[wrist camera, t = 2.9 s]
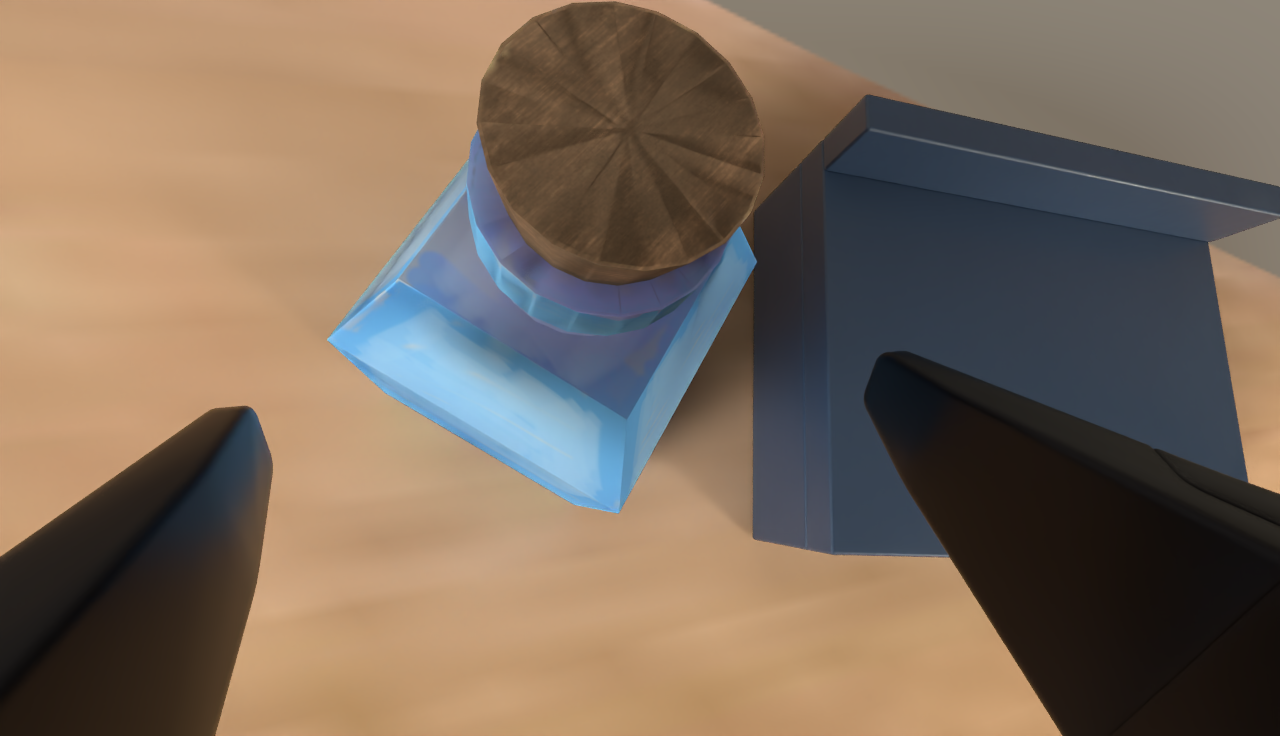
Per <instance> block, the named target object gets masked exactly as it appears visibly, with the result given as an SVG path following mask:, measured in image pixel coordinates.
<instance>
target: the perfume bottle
mask: <svg viewBox="0 0 1280 736" xmlns="http://www.w3.org/2000/svg"><path fill="white" fill-rule="evenodd" d="M477 127H478V130H477V132H476V134H475V136H474V138H473V139H472V141H471V147H470V156H469V159H468V160H467V162H466V163H465V164H464V165H463V167H462V168H461V169H460V171H459V172H458V173H457V174H456V176H455V177H454V178H453V180H452V181H451V182H450V183H449V185H448V186H447V187H446V188H445V190H444V191H443V192H442V194H441V195H440V196H439V197H438V199H437V200H436V201H435V202H434V204H433V205H432V206H431V208H430V209H429V210H428V211H427V213H426V214H425V215H424V217H423V218H422V219H421V220H420V222H419V223H418V224H417V225H416V227H415V228H414V229H413V231H412V232H411V233H410V234H409V236H408V237H407V238H406V240H405V241H404V242H403V243H402V245H401V246H400V247H399V248H398V250H397V251H396V252H395V254H394V255H393V256H392V257H391V259H390V260H389V261H388V262H387V264H386V265H385V266H384V268H383V269H382V270H381V271H380V273H379V274H378V275H377V277H376V278H375V279H374V280H373V282H372V283H371V284H370V285H369V287H368V288H367V289H366V291H365V292H364V293H363V294H362V296H361V297H360V298H359V300H358V301H357V302H356V303H355V305H354V306H353V307H352V308H351V310H350V311H349V312H348V314H347V315H346V316H345V317H344V319H343V320H342V321H341V322H340V324H339V325H338V326H337V328H336V329H335V330H334V331H333V333H332V334H331V335H330V337H329V338H328V339H327V340H328V341H329V342H330V343H331V344H332V345H333V346H334V347H335V348H337V349H338V350H339V351H340V352H341V353H342V354H343V355H344V356H345V357H346V358H347V359H349V360H350V361H351V362H352V363H353V364H354V365H355V366H356V367H357V368H358V369H359V370H361V371H362V372H363V373H364V374H365V375H366V376H367V377H368V378H369V379H370V380H371V381H373V382H374V383H375V384H376V385H377V386H378V387H379V388H380V389H381V390H382V391H384V392H385V393H386V394H388V395H390V396H391V397H393V398H395V399H396V400H398V401H400V402H401V403H403V404H405V405H407V406H408V407H410V408H412V409H413V410H415V411H417V412H418V413H420V414H422V415H423V416H425V417H427V418H428V419H430V420H432V421H434V422H435V423H437V424H439V425H440V426H442V427H444V428H445V429H447V430H449V431H450V432H452V433H454V434H456V435H457V436H459V437H461V438H462V439H464V440H466V441H467V442H469V443H471V444H472V445H474V446H476V447H478V448H479V449H481V450H483V451H484V452H486V453H488V454H489V455H491V456H493V457H494V458H496V459H498V460H499V461H501V462H503V463H505V464H506V465H508V466H510V467H511V468H513V469H515V470H516V471H518V472H520V473H521V474H523V475H525V476H527V477H528V478H530V479H532V480H533V481H535V482H537V483H538V484H540V485H542V486H543V487H545V488H547V489H548V490H550V491H552V492H554V493H555V494H557V495H559V496H560V497H562V498H564V499H565V500H567V501H569V502H570V503H572V504H574V505H578V506H583V507H588V508H593V509H599V510H604V511H609V512H614V513H619V512H620V510H621V508H622V506H623V505H624V503H625V501H626V499H627V497H628V496H629V494H630V492H631V490H632V488H633V486H634V485H635V483H636V481H637V479H638V477H639V476H640V474H641V472H642V470H643V468H644V466H645V465H646V463H647V461H648V459H649V457H650V456H651V454H652V452H653V450H654V448H655V446H656V445H657V443H658V441H659V439H660V437H661V436H662V434H663V432H664V430H665V428H666V426H667V425H668V423H669V421H670V419H671V417H672V416H673V414H674V412H675V410H676V408H677V406H678V405H679V403H680V401H681V399H682V397H683V396H684V394H685V392H686V390H687V388H688V386H689V385H690V383H691V381H692V379H693V377H694V376H695V374H696V372H697V370H698V368H699V366H700V365H701V363H702V361H703V359H704V357H705V356H706V354H707V352H708V350H709V348H710V346H711V345H712V343H713V341H714V339H715V337H716V336H717V334H718V332H719V330H720V328H721V326H722V325H723V323H724V321H725V319H726V317H727V316H728V314H729V312H730V310H731V308H732V306H733V305H734V303H735V301H736V299H737V297H738V295H739V294H740V292H741V290H742V288H743V286H744V285H745V283H746V281H747V279H748V277H749V275H750V274H751V272H752V270H753V268H754V266H755V265H756V263H757V261H756V259H755V257H754V255H753V253H752V250H751V248H750V246H749V244H748V242H747V240H746V238H745V236H744V233H743V231H742V229H741V227H740V225H741V224H742V223H743V222H744V221H745V220H746V218H747V217H748V216H749V215H750V214H751V212H752V209H753V206H754V203H755V200H756V198H757V195H758V192H759V189H760V186H761V184H762V181H763V178H764V135H763V131H762V128H761V125H760V122H759V118H758V115H757V112H756V109H755V105H754V102H753V99H752V97H751V95H750V94H749V92H748V91H747V89H746V88H745V86H744V84H743V83H742V81H741V80H740V78H739V77H738V75H737V74H736V72H735V71H734V69H733V67H732V66H731V64H730V63H729V62H728V61H727V60H726V59H725V58H724V57H723V56H722V55H721V54H720V53H718V52H717V51H716V50H715V49H714V48H713V47H712V46H711V45H710V44H709V43H708V42H706V41H705V40H704V39H703V38H702V37H701V36H700V35H699V34H698V33H696V32H695V31H693V30H691V29H689V28H687V27H685V26H683V25H682V24H680V23H678V22H676V21H674V20H672V19H670V18H669V17H667V16H665V15H663V14H661V13H659V12H657V11H652V10H648V9H644V8H640V7H636V6H632V5H628V4H624V3H619V2H589V3H571V4H569V5H566V6H563V7H560V8H558V9H555V10H552V11H549V12H546V13H544V14H541V15H538V16H535V17H533V18H532V19H530V20H529V21H528V22H527V23H526V24H524V25H523V26H522V27H521V28H520V29H518V30H517V31H516V32H515V33H514V34H513V35H511V36H510V37H509V38H508V39H507V40H505V41H504V42H503V43H502V44H501V46H500V47H499V49H498V51H497V53H496V55H495V57H494V58H493V60H492V62H491V64H490V66H489V68H488V69H487V71H486V73H485V75H484V77H483V79H482V82H481V90H480V99H479V107H478V115H477Z"/></svg>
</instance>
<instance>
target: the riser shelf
mask: <svg viewBox="0 0 1280 736" xmlns="http://www.w3.org/2000/svg"><path fill="white" fill-rule="evenodd" d="M1279 218H1280V187H1278V186H1274V185H1270V184H1266V183H1261V182H1257V181H1252V180H1248V179H1243V178H1238V177H1234V176H1230V175H1226V174H1221V173H1217V172H1212V171H1208V170H1203V169H1199V168H1194V167H1189V166H1185V165H1181V164H1176V163H1172V162H1168V161H1163V160H1159V159H1154V158H1149V157H1145V156H1141V155H1136V154H1131V153H1127V152H1123V151H1118V150H1114V149H1109V148H1105V147H1101V146H1096V145H1091V144H1087V143H1083V142H1078V141H1073V140H1069V139H1064V138H1060V137H1056V136H1051V135H1046V134H1043V133H1038V132H1034V131H1029V130H1025V129H1020V128H1015V127H1011V126H1007V125H1002V124H998V123H993V122H989V121H984V120H980V119H975V118H971V117H967V116H962V115H958V114H953V113H948V112H944V111H940V110H935V109H931V108H926V107H922V106H918V105H913V104H909V103H904V102H900V101H895V100H891V99H886V98H882V97H877V96H873V95H866V96H864V97H863V98H862V100H861V101H860V102H859V103H858V104H857V105H856V106H855V107H854V108H853V109H852V110H851V111H850V112H849V113H848V114H847V115H846V116H845V117H844V118H843V119H842V120H841V121H840V122H839V124H838V125H837V126H836V127H835V128H834V129H833V130H832V131H831V132H830V133H829V134H828V135H827V136H826V137H825V139H824V140H823V141H821V142H820V143H819V144H818V145H817V146H816V147H815V148H814V149H813V150H812V151H811V153H810V154H809V155H808V156H807V157H806V158H805V159H804V160H803V161H802V163H800V164H799V165H798V166H797V167H796V168H795V169H794V170H793V171H792V172H791V174H790V175H789V176H788V177H787V178H786V179H785V180H784V181H783V182H782V183H781V184H780V185H779V186H778V187H777V188H776V189H775V190H774V191H773V192H772V193H771V194H770V195H769V196H768V198H767V199H766V200H765V201H764V202H763V203H762V204H761V205H760V206H759V207H758V208H757V209H756V210H755V212H754V257H755V259H756V261H757V263H756V265H755V266H754V382H753V538H754V539H755V540H760V541H765V542H770V543H775V544H780V545H786V546H791V547H796V548H801V549H806V550H811V551H816V552H822V553H827V554H832V555H867V556H911V557H949V555H948V554H947V552H946V550H945V549H944V547H943V546H942V544H941V543H940V541H939V539H938V538H937V536H936V535H935V533H934V531H933V530H932V528H931V527H930V525H929V524H928V522H927V520H926V519H925V517H924V516H923V514H922V512H921V511H920V509H919V508H918V506H917V505H916V503H915V501H914V500H913V498H912V497H911V495H910V493H909V492H908V490H907V488H906V487H905V485H904V483H903V481H902V479H901V478H900V476H899V474H898V472H897V470H896V468H895V466H894V464H893V462H892V460H891V458H890V456H889V454H888V452H887V450H886V448H885V446H884V444H883V442H882V440H881V438H880V436H879V434H878V432H877V430H876V428H875V426H874V424H873V422H872V420H871V418H870V416H869V414H868V412H867V410H866V408H865V405H864V392H865V389H866V386H867V384H868V381H869V378H870V376H871V373H872V370H873V367H874V365H875V362H876V360H877V358H878V357H879V356H880V355H881V354H883V353H885V352H894V351H908V352H911V353H913V354H916V355H919V356H921V357H924V358H926V359H929V360H931V361H934V362H937V363H939V364H942V365H944V366H947V367H949V368H952V369H955V370H957V371H960V372H962V373H965V374H967V375H970V376H972V377H975V378H978V379H980V380H983V381H985V382H988V383H990V384H993V385H996V386H998V387H1001V388H1003V389H1006V390H1008V391H1011V392H1014V393H1016V394H1019V395H1021V396H1024V397H1026V398H1029V399H1032V400H1034V401H1037V402H1039V403H1042V404H1044V405H1047V406H1050V407H1052V408H1055V409H1057V410H1060V411H1062V412H1065V413H1067V414H1070V415H1073V416H1075V417H1078V418H1080V419H1083V420H1085V421H1088V422H1091V423H1093V424H1096V425H1098V426H1101V427H1103V428H1106V429H1109V430H1111V431H1114V432H1116V433H1119V434H1121V435H1124V436H1127V437H1129V438H1132V439H1134V440H1137V441H1139V442H1142V443H1145V444H1147V445H1149V446H1151V447H1152V448H1153V449H1155V448H1157V449H1160V450H1163V451H1165V452H1168V453H1170V454H1173V455H1176V456H1178V457H1181V458H1183V459H1186V460H1189V461H1191V462H1194V463H1196V464H1199V465H1202V466H1204V467H1207V468H1210V469H1212V470H1215V471H1218V472H1220V473H1223V474H1226V475H1228V476H1231V477H1233V478H1236V479H1239V480H1242V481H1245V482H1247V483H1248V478H1247V472H1246V466H1245V460H1244V454H1243V448H1242V442H1241V436H1240V430H1239V424H1238V418H1237V412H1236V406H1235V401H1234V395H1233V389H1232V383H1231V377H1230V371H1229V365H1228V359H1227V353H1226V347H1225V341H1224V335H1223V329H1222V323H1221V317H1220V311H1219V305H1218V299H1217V293H1216V287H1215V281H1214V276H1213V270H1212V264H1211V258H1210V252H1209V246H1208V242H1212V241H1215V240H1218V239H1221V238H1224V237H1227V236H1229V235H1233V234H1235V233H1238V232H1241V231H1244V230H1247V229H1250V228H1253V227H1256V226H1259V225H1262V224H1265V223H1268V222H1271V221H1274V220H1276V219H1279Z"/></svg>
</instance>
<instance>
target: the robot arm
mask: <svg viewBox="0 0 1280 736" xmlns="http://www.w3.org/2000/svg"><path fill="white" fill-rule="evenodd" d="M864 405H865V408H866V410H867V412H868V414H869V416H870V418H871V420H872V422H873V424H874V426H875V428H876V430H877V432H878V434H879V436H880V438H881V440H882V442H883V444H884V446H885V448H886V450H887V452H888V454H889V456H890V458H891V460H892V462H893V464H894V466H895V468H896V470H897V472H898V474H899V476H900V478H901V479H902V481H903V483H904V485H905V487H906V488H907V490H908V492H909V493H910V495H911V497H912V498H913V500H914V501H915V503H916V505H917V506H918V508H919V509H920V511H921V512H922V514H923V516H924V517H925V519H926V520H927V522H928V524H929V525H930V527H931V528H932V530H933V531H934V533H935V535H936V536H937V538H938V539H939V541H940V543H941V544H942V546H943V547H944V549H945V550H946V552H947V554H948V555H949V557H950V558H951V560H952V562H953V563H954V565H955V566H956V568H957V569H958V571H959V573H960V574H961V576H962V577H963V579H964V580H965V582H966V584H967V585H968V587H969V588H970V590H971V592H972V593H973V595H974V596H975V598H976V599H977V601H978V603H979V604H980V606H981V607H982V609H983V611H984V612H985V614H986V615H987V617H988V618H989V620H990V622H991V623H992V625H993V626H994V628H995V630H996V631H997V633H998V634H999V636H1000V637H1001V639H1002V641H1003V642H1004V644H1005V645H1006V647H1007V649H1008V650H1009V652H1010V653H1011V655H1012V656H1013V658H1014V660H1015V661H1016V663H1017V664H1018V666H1019V668H1020V669H1021V671H1022V672H1023V674H1024V675H1025V677H1026V679H1027V680H1028V682H1029V683H1030V685H1031V686H1032V688H1033V690H1034V691H1035V693H1036V694H1037V696H1038V698H1039V699H1040V701H1041V702H1042V704H1043V705H1044V707H1045V709H1046V710H1047V712H1048V713H1049V715H1050V717H1051V718H1052V720H1053V721H1054V723H1055V724H1056V726H1057V728H1058V729H1059V731H1060V732H1061V734H1062V736H1280V494H1278V493H1275V492H1272V491H1270V490H1267V489H1264V488H1261V487H1259V486H1256V485H1253V484H1250V483H1247V482H1245V481H1242V480H1239V479H1236V478H1233V477H1231V476H1228V475H1226V474H1223V473H1220V472H1218V471H1215V470H1212V469H1210V468H1207V467H1204V466H1202V465H1199V464H1196V463H1194V462H1191V461H1189V460H1186V459H1183V458H1181V457H1178V456H1176V455H1173V454H1170V453H1168V452H1165V451H1163V450H1160V449H1157V448H1155V449H1153V448H1152V447H1151V446H1149V445H1147V444H1145V443H1142V442H1139V441H1137V440H1134V439H1132V438H1129V437H1127V436H1124V435H1121V434H1119V433H1116V432H1114V431H1111V430H1109V429H1106V428H1103V427H1101V426H1098V425H1096V424H1093V423H1091V422H1088V421H1085V420H1083V419H1080V418H1078V417H1075V416H1073V415H1070V414H1067V413H1065V412H1062V411H1060V410H1057V409H1055V408H1052V407H1050V406H1047V405H1044V404H1042V403H1039V402H1037V401H1034V400H1032V399H1029V398H1026V397H1024V396H1021V395H1019V394H1016V393H1014V392H1011V391H1008V390H1006V389H1003V388H1001V387H998V386H996V385H993V384H990V383H988V382H985V381H983V380H980V379H978V378H975V377H972V376H970V375H967V374H965V373H962V372H960V371H957V370H955V369H952V368H949V367H947V366H944V365H942V364H939V363H937V362H934V361H931V360H929V359H926V358H924V357H921V356H919V355H916V354H913V353H911V352H908V351H894V352H885V353H883V354H881V355H880V356H879V357H878V358H877V360H876V362H875V365H874V367H873V370H872V373H871V376H870V378H869V381H868V384H867V386H866V389H865V392H864ZM272 474H273V463H272V457H271V453H270V450H269V448H268V445H267V442H266V439H265V436H264V434H263V431H262V428H261V425H260V422H259V419H258V417H257V414H256V413H255V411H254V410H253V409H252V408H250V407H248V406H237V407H225V408H215V409H212V410H210V411H208V412H206V413H205V414H204V415H202V416H201V417H199V418H198V419H196V420H195V421H194V422H192V423H191V424H189V425H188V426H186V427H185V428H184V429H182V430H181V431H179V432H178V433H176V434H175V435H174V436H172V437H171V438H169V439H168V440H166V441H165V442H164V443H162V444H161V445H159V446H158V447H156V448H155V449H154V450H152V451H151V452H149V453H148V454H146V455H145V456H144V457H142V458H141V459H139V460H138V461H136V462H135V463H134V464H132V465H131V466H129V467H128V468H126V469H125V470H124V471H122V472H121V473H119V474H118V475H116V476H115V477H114V478H112V479H111V480H109V481H108V482H106V483H105V484H104V485H102V486H101V487H99V488H98V489H96V490H95V491H94V492H92V493H91V494H89V495H88V496H86V497H85V498H84V499H82V500H81V501H79V502H78V503H77V504H75V505H74V506H72V507H71V508H69V509H68V510H67V511H65V512H64V513H62V514H61V515H59V516H58V517H57V518H55V519H54V520H52V521H51V522H49V523H48V524H47V525H45V526H44V527H42V528H41V529H39V530H38V531H37V532H35V533H34V534H32V535H31V536H29V537H28V538H27V539H25V540H24V541H22V542H21V543H19V544H18V545H17V546H15V547H14V548H12V549H11V550H9V551H8V552H7V553H5V554H4V555H2V556H1V557H0V736H215V734H216V730H217V727H218V723H219V719H220V716H221V712H222V709H223V705H224V701H225V698H226V694H227V690H228V687H229V683H230V680H231V676H232V672H233V669H234V665H235V662H236V658H237V654H238V651H239V647H240V644H241V640H242V636H243V633H244V629H245V626H246V622H247V618H248V615H249V611H250V608H251V604H252V600H253V596H254V592H255V588H256V584H257V578H258V573H259V567H260V560H261V553H262V546H263V539H264V531H265V524H266V517H267V510H268V503H269V496H270V489H271V481H272Z"/></svg>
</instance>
